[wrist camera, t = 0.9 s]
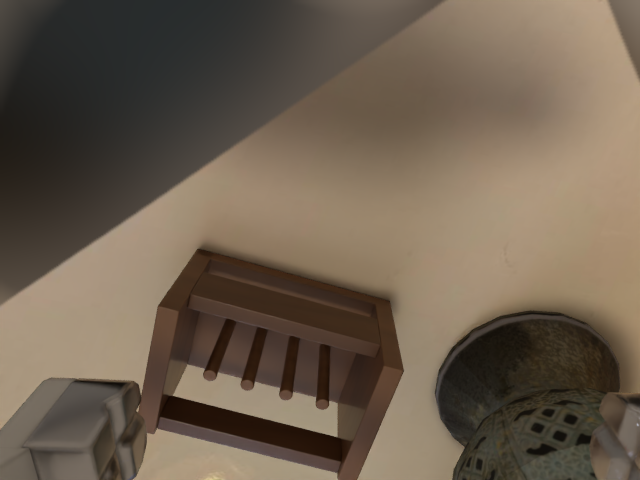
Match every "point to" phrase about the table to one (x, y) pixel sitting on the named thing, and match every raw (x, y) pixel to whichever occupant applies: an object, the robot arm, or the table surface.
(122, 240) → the table surface
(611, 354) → the lantern
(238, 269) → the rack
